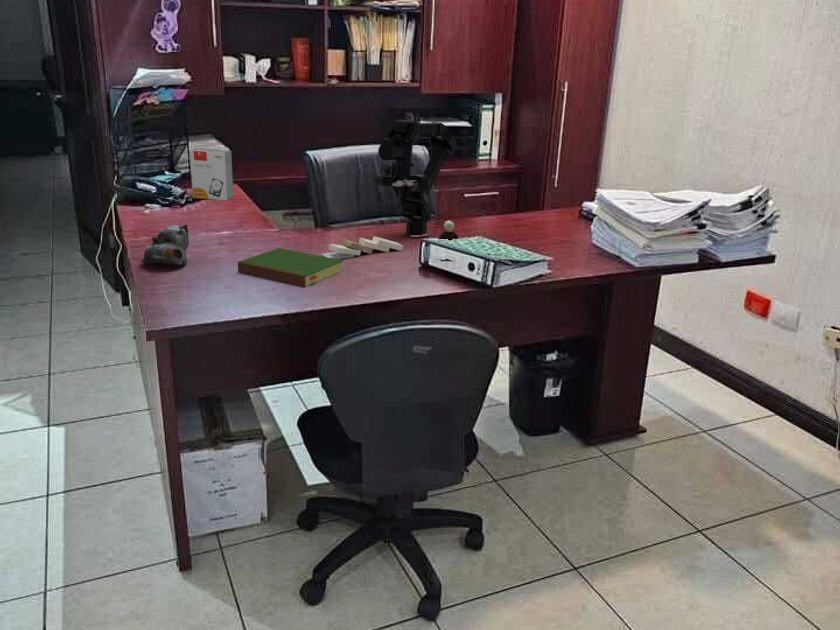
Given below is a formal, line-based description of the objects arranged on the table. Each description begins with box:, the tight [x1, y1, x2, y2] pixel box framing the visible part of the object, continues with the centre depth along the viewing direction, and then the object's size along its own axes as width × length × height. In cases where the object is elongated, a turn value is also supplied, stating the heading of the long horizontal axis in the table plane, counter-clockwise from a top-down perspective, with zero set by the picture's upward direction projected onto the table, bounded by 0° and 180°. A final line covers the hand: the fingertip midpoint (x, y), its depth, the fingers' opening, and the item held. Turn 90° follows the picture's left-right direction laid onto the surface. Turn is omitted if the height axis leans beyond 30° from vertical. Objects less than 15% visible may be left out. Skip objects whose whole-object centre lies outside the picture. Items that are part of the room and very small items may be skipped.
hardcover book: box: [237, 247, 344, 288], centre depth 218 cm, size 25×19×4 cm
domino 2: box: [328, 243, 362, 256], centre depth 233 cm, size 2×5×9 cm
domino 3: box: [341, 238, 374, 255], centre depth 237 cm, size 2×5×9 cm
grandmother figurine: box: [437, 220, 460, 241], centre depth 232 cm, size 8×4×13 cm, turn 118°
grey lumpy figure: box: [139, 224, 191, 267], centre depth 220 cm, size 15×12×14 cm
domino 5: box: [371, 235, 404, 252], centre depth 242 cm, size 2×5×9 cm
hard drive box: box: [189, 147, 234, 201], centre depth 307 cm, size 16×8×20 cm, turn 81°
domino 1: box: [321, 251, 355, 260], centre depth 234 cm, size 2×5×9 cm
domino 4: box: [358, 237, 391, 253], centre depth 240 cm, size 2×5×9 cm
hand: (400, 205), depth 249 cm, fingers closed
